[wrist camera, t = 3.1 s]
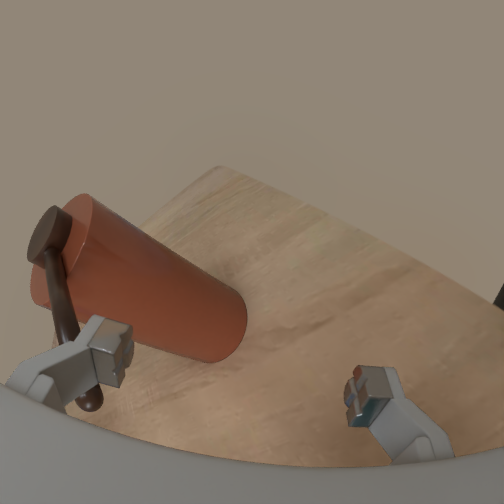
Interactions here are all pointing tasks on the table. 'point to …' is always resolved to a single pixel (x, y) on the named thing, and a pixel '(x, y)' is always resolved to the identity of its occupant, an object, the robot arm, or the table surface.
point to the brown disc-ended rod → (60, 285)
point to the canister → (144, 287)
